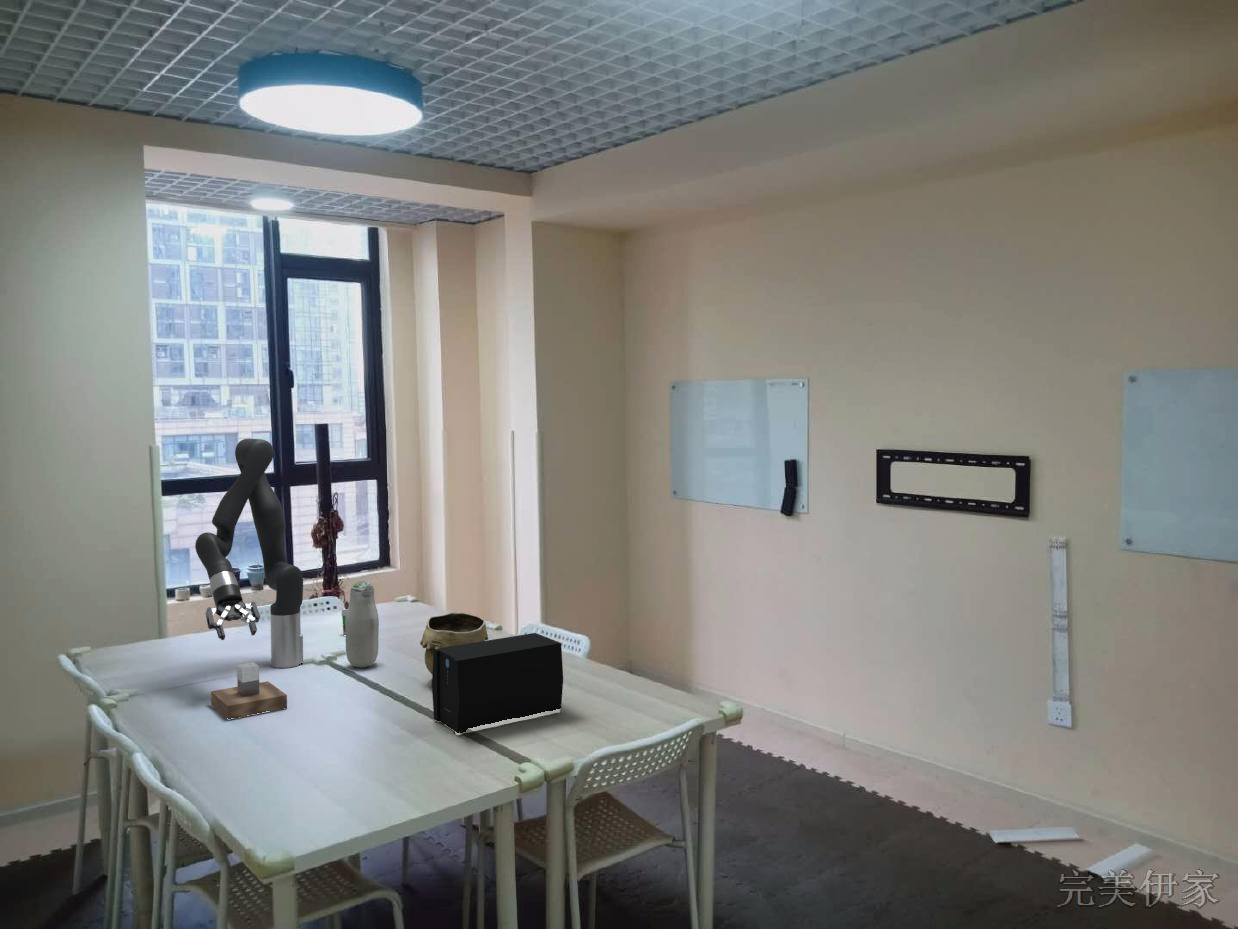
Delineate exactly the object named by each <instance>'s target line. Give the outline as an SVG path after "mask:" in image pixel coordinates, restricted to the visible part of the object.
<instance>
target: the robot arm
mask: <svg viewBox="0 0 1238 929" xmlns="http://www.w3.org/2000/svg"><path fill="white" fill-rule="evenodd" d="M274 454H275V451H274V447H273V444H272V443H271V442H269V441H268V440H266V439H262V438H244V439H241V440H240V441H238V442H237V444H236V446H235V449H234V456H235V461H236V463H237V466H238V468H239V472H240V474H239V476H238V477H237V479H236V481H235V482H234V483H233V484H232V485H231V486H230V488H229V489H228V490H227V491H226V492H225V493H224V495H223V496H222V498H221V500H220V502H219V503H218V506H217V508H216V510H215V511H214V515H213V517H212V520H211V523H212V525H213V526H214V527H215V529H216V534H215V533H212V532H208V531H207V532H202V533H201V534H200V535H198V536H197V538H196V540H195V545H194V547H195V552H196V554H197V557H198V559H199V560H200V562H201V563H202V566H204V568H205V570H206V573H207V575H208V576H207V577H208V580H209V587H210V590H211V591H210V592H211V595H212V597H213V598H212V599H213V602H214V606H215V608H212V607H210V606H208V607H207V608H206V610H205V617H206V622H207V628H208V630H213V629H214V630H216V634H217V638H218V639H220V641H224V640H225V638H226V634H225V630H224V627H223V624H224V622H225V621H227V622H231V621H239V620H241V621H242V622H245V623H247V625H248V628H249V631H250V634H251V636H255V635H256V633H257V631H258V627H257V624H256V623H259V621H260V619H261V614H260V611H259V608H258V606H257V603H256V602H255V601H254V600H253V601H251V602H250V603H245V602H244V600H243V596H242V594H241V590H240V586H239V583H238V580H237V578H236V576H235V573H234V569H233V566H232V563H231V561H230V560H229V559H228V558H227V557H228V556H229V554H230V553H231V550H232V547H233V543H234V537H235V529H236V526H237V524H238V521H239V519H240V517H241V514H242V513H243V510H244V508H245V506H246V504H247V502H249V506H250V510H251V514H252V515H251V516H252V519H253V525H254V527H255V531H256V535H257V539H258V544H259V547H260V550H261V556H262V563H263V573H264V578H265V582H266V584H267V585H268V587H269V588H270V589H271V590H273V591H275V592H276V594H275V601H274V602H273V603H271V605H270V610H269V612H270V613H269V614H270V652H271V653H270V656H271V658H270V664H271V667H273V668H276V669H277V668H278V669H287V668H294V667H297V666H299V664H300V665H302V664H301V663H302V662H303V663H304V636H303V634H302V633H301V630H302V629H301V607H302V604H303V597H304V595H303V594H304V576H303V572H302V570H301V568H299V567H298V566H297V565H293V564H290V563H288V561H287V557H286V554H285V550H284V537H285V531H286V530H285V529H286V522H285V515H284V512H283V508H282V503H281V501H280V500H279V497H278V496H277V494H276V493H275V491H274V489H273V487H271V484H270V483H269V481H268V478H267V476H266V471H267V469H268V467H269V466H270V464H271V462H272V461H273V458H274ZM246 609H247V610H248V611H247V610H246ZM250 612H251V614H250ZM215 614H216V615H218V617H219V619H218V621H217V622H215V621H214V620H215V619H214V616H215Z"/></svg>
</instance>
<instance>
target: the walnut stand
mask: <svg viewBox="0 0 1238 929" xmlns="http://www.w3.org/2000/svg"><path fill="white" fill-rule="evenodd" d="M210 697H211V698H210V702H211V703H210V704H211V706H212V705H213V706H214V707H215V708H216V709H215V708H214V707H213V706H212V707H213V708H214V709H215V710H216V711H217V712H218V711H219V712H220V713H219V712H218V713H219V714H220V715H222V716H223V718H225V719H226V718H228V719H231V718H238V719H240V718H239V717H243V718H245V717H244V716H247V715H252V714H257V713H262V712H266V711H273V712H276V711H275V710H279V711H281V710H280V709H284V708H287V709H288V695H287V694H286V693H285V692H284V691H283V690H281V689H279V688H278V687H277V686H275V685H274V684H273V683H271V682H270V681H268V680H267V681H263V682H259V694H255V695H249V696H244V697H242V696H241V695H240V694H239V693H238V686H233V687H228V688H227V687H226V688H222V689H216V690H211V691H210ZM284 710H285V709H284Z"/></svg>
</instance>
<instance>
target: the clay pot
mask: <svg viewBox="0 0 1238 929" xmlns="http://www.w3.org/2000/svg"><path fill="white" fill-rule="evenodd" d="M487 640H489V634H488V630H487V625H486V621H485V619H483V618H482V617H480V616H477V615H474V614H472V613H471V614H470V613H467V612H449V613H446V614H442V615H433V616H430V617H429V618H428V619H427V622H426V625H425V628H424V631H423V634H422V638H421V640H420V642H419V644H420V646H421V648H423V649H425V651H424V663H425V667H426V669H427V670H428V672H429V673H430V674H431V675H432V672H433V652H434V649H438V648H444V647H450V646H456V645H462V644H469V643H475V642H481V641H487Z"/></svg>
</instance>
